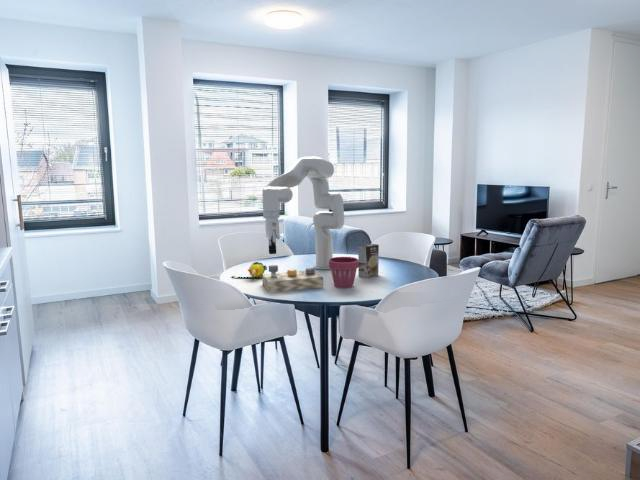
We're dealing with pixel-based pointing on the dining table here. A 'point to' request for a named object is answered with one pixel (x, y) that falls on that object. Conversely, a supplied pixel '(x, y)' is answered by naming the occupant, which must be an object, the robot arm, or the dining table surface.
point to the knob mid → (292, 273)
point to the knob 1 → (273, 270)
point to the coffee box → (368, 260)
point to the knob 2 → (310, 271)
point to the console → (292, 281)
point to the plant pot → (343, 271)
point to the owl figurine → (256, 270)
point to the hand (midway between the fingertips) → (272, 253)
